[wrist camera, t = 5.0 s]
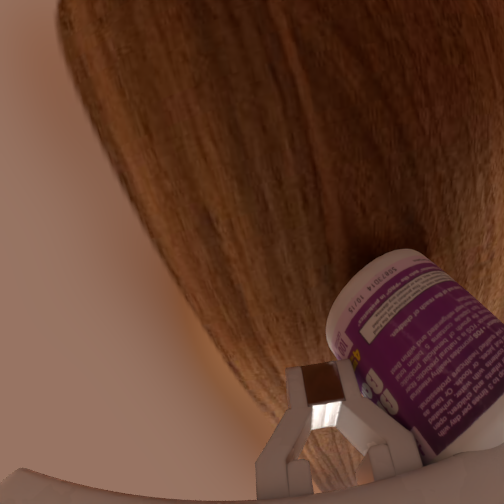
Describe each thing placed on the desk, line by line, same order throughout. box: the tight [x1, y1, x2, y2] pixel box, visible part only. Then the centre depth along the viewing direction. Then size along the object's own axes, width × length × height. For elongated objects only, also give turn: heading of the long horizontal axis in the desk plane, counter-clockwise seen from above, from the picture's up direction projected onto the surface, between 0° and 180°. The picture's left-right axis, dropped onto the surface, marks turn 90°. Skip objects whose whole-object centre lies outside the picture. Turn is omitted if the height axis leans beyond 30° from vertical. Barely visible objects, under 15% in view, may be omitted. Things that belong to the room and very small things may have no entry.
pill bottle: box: [326, 249, 504, 467], centre depth 8 cm, size 5×5×10 cm
